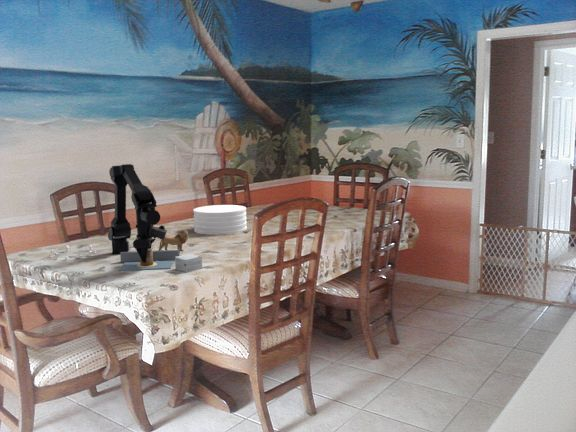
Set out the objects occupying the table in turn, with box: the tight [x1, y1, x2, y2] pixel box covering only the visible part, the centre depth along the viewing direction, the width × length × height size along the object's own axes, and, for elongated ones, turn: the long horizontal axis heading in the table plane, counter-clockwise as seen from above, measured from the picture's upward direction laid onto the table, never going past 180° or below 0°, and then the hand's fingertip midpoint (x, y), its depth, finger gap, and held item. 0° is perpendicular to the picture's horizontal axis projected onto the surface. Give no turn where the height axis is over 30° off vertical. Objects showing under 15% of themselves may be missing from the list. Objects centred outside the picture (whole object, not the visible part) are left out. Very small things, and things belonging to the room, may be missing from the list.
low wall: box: [119, 249, 181, 263], centre depth 232 cm, size 24×1×4 cm, turn 95°
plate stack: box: [192, 204, 248, 236], centre depth 297 cm, size 28×28×12 cm
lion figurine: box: [157, 229, 189, 252], centre depth 248 cm, size 15×5×9 cm, turn 121°
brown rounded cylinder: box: [139, 248, 154, 266], centre depth 222 cm, size 5×5×6 cm
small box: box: [174, 253, 203, 273], centre depth 217 cm, size 8×8×5 cm
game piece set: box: [49, 244, 98, 261], centre depth 245 cm, size 19×20×4 cm
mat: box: [117, 260, 175, 272], centre depth 223 cm, size 20×12×1 cm, turn 95°
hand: (146, 259), depth 223 cm, fingers open, 8 cm apart
